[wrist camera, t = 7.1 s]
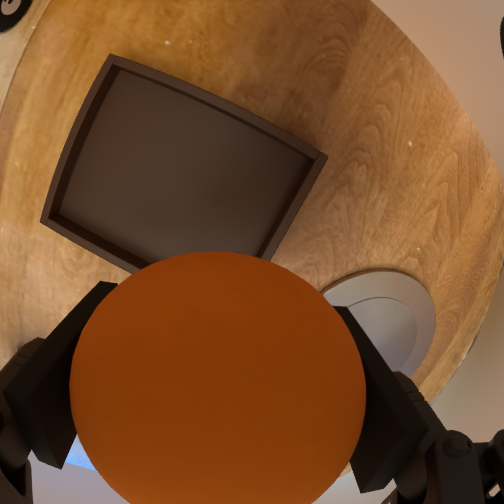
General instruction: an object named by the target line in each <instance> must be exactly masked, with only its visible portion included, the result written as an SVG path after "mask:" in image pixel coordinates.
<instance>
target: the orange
mask: <svg viewBox="0 0 504 504" xmlns="http://www.w3.org/2000/svg"><path fill="white" fill-rule="evenodd" d="M69 390H70V403H71V413H72V417H73V420H74V424H75V427H76V431H77V434H78V437H79V440H80V442H81V444H82V446H83V448H84V450H85V452H86V454H87V456H88V457H89V459H90V461H91V463H92V465H93V466H94V467H95V469H96V470H97V471H98V472H99V474H100V475H101V476H102V477H103V479H104V480H105V481H106V482H107V483H108V485H109V486H110V487H111V488H113V489H114V490H115V491H116V492H117V493H118V494H119V495H120V496H121V497H123V498H124V499H125V500H127V501H128V502H129V503H130V504H311V503H313V502H314V501H316V500H317V499H318V498H319V497H320V496H321V495H322V494H323V493H324V492H325V491H326V490H327V489H328V488H329V487H330V486H331V485H332V484H333V483H334V482H335V481H336V479H337V478H338V477H339V476H340V474H341V473H342V471H343V470H344V468H345V467H346V465H347V464H348V462H349V460H350V458H351V456H352V454H353V452H354V450H355V447H356V445H357V443H358V440H359V437H360V434H361V430H362V427H363V421H364V416H365V409H366V382H365V376H364V370H363V365H362V361H361V357H360V354H359V351H358V349H357V346H356V343H355V341H354V339H353V337H352V335H351V333H350V331H349V329H348V327H347V326H346V324H345V322H344V321H343V319H342V317H341V316H340V315H339V314H338V312H337V311H336V310H335V309H334V308H333V306H332V305H331V304H330V303H329V302H328V301H327V299H326V298H325V297H324V296H323V295H322V294H321V293H320V292H318V291H317V290H316V289H315V288H314V287H313V286H311V285H310V284H309V283H308V282H306V281H305V280H303V279H302V278H300V277H298V276H297V275H295V274H294V273H292V272H290V271H289V270H287V269H285V268H283V267H281V266H279V265H276V264H274V263H272V262H270V261H267V260H263V259H260V258H257V257H254V256H250V255H244V254H238V253H233V252H216V251H207V252H195V253H187V254H183V255H178V256H173V257H170V258H167V259H164V260H162V261H159V262H156V263H154V264H151V265H149V266H147V267H145V268H143V269H142V270H140V271H138V272H136V273H134V274H132V275H131V276H129V277H128V278H127V279H125V280H124V281H123V282H122V283H120V284H119V285H118V286H116V287H115V288H114V289H113V290H112V291H111V292H110V293H109V294H108V295H107V296H106V297H105V298H104V299H103V300H102V302H101V303H100V304H99V305H98V306H97V308H96V309H95V311H94V312H93V314H92V315H91V317H90V318H89V320H88V322H87V323H86V325H85V327H84V328H83V330H82V333H81V335H80V338H79V341H78V343H77V346H76V349H75V352H74V355H73V359H72V366H71V373H70V382H69Z"/></svg>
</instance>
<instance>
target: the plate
mask: <svg viewBox="0 0 504 504" xmlns="http://www.w3.org/2000/svg"><path fill="white" fill-rule="evenodd" d="M320 293H321V294H322V295H323V296H324V297H325V298H326V299H327V301H328V302H329V303H330V304H331V305H332V306H347V308H348V309H349V311H350V312H351V313H352V315H353V316H354V317H355V319H356V320H357V322H358V323H359V324H360V326H361V327H362V329H363V330H364V332H365V333H366V334H367V336H368V337H369V339H370V340H371V341H372V343H373V344H374V346H375V347H376V349H377V350H378V352H379V353H380V354H381V356H382V357H383V359H384V360H385V362H386V363H387V365H388V366H389V368H390V369H391V370H392V372H394V371H401V372H402V373H403V374H405V375H406V376H407V377H408V378H410V377H411V375H412V374H413V373H414V372H415V371H416V370H417V368H418V367H419V366H420V364H421V363H422V361H423V360H424V358H425V356H426V354H427V352H428V350H429V348H430V346H431V343H432V340H433V336H434V332H435V325H436V315H435V308H434V305H433V301H432V299H431V297H430V295H429V293H428V292H427V290H426V289H425V288H424V286H422V285H421V284H420V283H419V282H418V281H417V280H415V279H414V278H412V277H411V276H409V275H407V274H405V273H402V272H400V271H396V270H391V269H371V270H365V271H361V272H357V273H354V274H351V275H349V276H346V277H344V278H342V279H340V280H338V281H336V282H334V283H333V284H331V285H329V286H328V287H326V288H325V289H323V290H322V291H321V292H320Z"/></svg>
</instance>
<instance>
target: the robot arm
mask: <svg viewBox="0 0 504 504" xmlns="http://www.w3.org/2000/svg"><path fill="white" fill-rule="evenodd" d="M116 286H118V284H117V283H110V282H104V281H100V282H99V283H98V284H97V285H96V286H95V287H94V288H93V289H92V290H91V291H90V292H89V293H88V294H87V295H86V296H85V297H84V298H83V299H82V300H81V301H80V302H79V303H78V304H77V305H76V306H75V307H74V308H73V310H72V311H71V312H70V313H69V314H68V315H67V316H66V317H65V318H64V319H63V320H62V321H61V322H60V324H59V325H58V326H57V327H56V328H55V329H54V330H53V331H52V332H51V334H50V335H49V336H48V337H47V338H46V339H42V338H39V337H37V338H36V339H34V340H32V341H30V342H28V343H27V344H25V345H24V346H23V347H22V348H21V350H20V351H19V352H18V353H17V356H16V355H15V356H14V357H13V358H12V360H11V361H10V363H8V364H7V365H6V366H5V367H4V369H3V370H2V371H1V372H0V504H33V495H32V476H31V465H30V461H29V460H28V458H27V457H28V455H29V453H30V451H31V449H32V451H33V452H34V454H35V455H36V457H37V459H38V460H39V461H41V462H43V463H46V464H48V465H51V466H53V467H56V468H58V469H62V467H63V465H64V462H65V460H66V458H67V455H68V453H69V451H70V448H71V446H72V444H73V442H74V439H75V437H76V435H77V431H76V427H75V424H74V420H73V417H72V413H71V403H70V390H69V382H70V373H71V366H72V359H73V355H74V352H75V349H76V346H77V343H78V341H79V338H80V335H81V333H82V330H83V328H84V327H85V325H86V323H87V322H88V320H89V318H90V317H91V315H92V314H93V312H94V311H95V309H96V308H97V306H98V305H99V304H100V303H101V302H102V300H103V299H104V298H105V297H106V296H107V295H108V294H109V293H110V292H111V291H112V290H113V289H114V288H115V287H116ZM333 308H334V309H335V310H336V311H337V312H338V314H339V315H340V316H341V317H342V319H343V321H344V322H345V324H346V326H347V327H348V329H349V331H350V333H351V335H352V337H353V339H354V341H355V343H356V346H357V349H358V351H359V354H360V357H361V361H362V365H363V370H364V376H365V382H366V409H365V416H364V421H363V427H362V430H361V434H360V437H359V440H358V443H357V445H356V447H355V450H354V452H353V454H352V456H351V458H350V460H349V462H350V465H351V467H352V470H353V473H354V476H355V479H356V482H357V484H358V487H359V490H360V493H366V492H371V491H375V490H380V489H384V488H385V487H386V485H387V484H388V483H389V482H390V481H391V480H392V479H394V481H395V483H396V485H397V487H396V488H395V489H394V490H393V491H392V493H391V494H390V495H389V496H388V497H387V498H386V499H385V500H384V501H383V502H382V503H381V504H388V503H389V502H390V504H504V429H503V430H500V431H498V432H497V433H496V435H495V436H494V437H493V439H492V440H491V441H490V442H485V443H484V442H483V443H473V442H472V441H471V440H470V439H469V438H468V437H467V436H466V435H464V434H463V433H461V432H458V431H454V430H449V431H447V430H446V429H445V427H444V426H443V424H442V423H441V421H440V420H439V418H438V417H437V415H436V414H435V412H434V411H433V410H432V408H431V407H430V405H429V404H428V402H427V401H425V400H424V399H425V398H424V397H423V395H422V394H421V392H419V390H418V388H417V387H416V385H415V384H414V383H413V381H412V380H411V379H410V378H408V377H407V376H406V375H405V374H403V373H402V372H401V371H394V372H392V370H391V369H390V368H389V366H388V365H387V363H386V362H385V360H384V359H383V357H382V356H381V354H380V353H379V352H378V350H377V349H376V347H375V346H374V344H373V343H372V341H371V340H370V339H369V337H368V336H367V334H366V333H365V332H364V330H363V329H362V327H361V326H360V324H359V323H358V322H357V320H356V319H355V317H354V316H353V315H352V313H351V312H350V311H349V309H348V308H347V306H333ZM497 484H498V485H499V487H500V491H499V492H498V493H497V494H496V495H495V496H494V497H492V496H490V494H489V492H490V491H491V490H492V489H493V488H494V487H495V486H496V485H497Z"/></svg>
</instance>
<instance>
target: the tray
mask: <svg viewBox="0 0 504 504" xmlns="http://www.w3.org/2000/svg"><path fill="white" fill-rule="evenodd" d="M327 159H328V156H327V155H325V154H324V153H322V152H320V151H319V150H317V149H316V148H314V147H312V146H311V145H309V144H307V143H306V142H304V141H302V140H300V139H299V138H297V137H295V136H294V135H292V134H290V133H288V132H287V131H285V130H283V129H281V128H279V127H278V126H276V125H274V124H272V123H270V122H268V121H266V120H265V119H263V118H261V117H259V116H257V115H255V114H253V113H251V112H249V111H247V110H245V109H243V108H241V107H239V106H237V105H235V104H233V103H231V102H229V101H227V100H225V99H223V98H221V97H219V96H217V95H214V94H212V93H210V92H208V91H206V90H203V89H201V88H199V87H197V86H194V85H192V84H190V83H187V82H185V81H183V80H180V79H178V78H176V77H173V76H171V75H168V74H166V73H163V72H161V71H158V70H155V69H153V68H150V67H148V66H145V65H142V64H139V63H137V62H134V61H131V60H128V59H125V58H122V57H119V56H116V55H113V54H109V56H108V57H107V59H106V61H105V62H104V64H103V66H102V68H101V69H100V71H99V73H98V75H97V77H96V79H95V80H94V82H93V84H92V86H91V88H90V90H89V92H88V94H87V96H86V98H85V100H84V102H83V104H82V106H81V108H80V110H79V113H78V115H77V117H76V119H75V122H74V124H73V126H72V128H71V131H70V133H69V136H68V138H67V140H66V143H65V145H64V148H63V151H62V153H61V156H60V159H59V161H58V164H57V167H56V170H55V173H54V175H53V178H52V181H51V185H50V188H49V191H48V194H47V197H46V201H45V204H44V208H43V211H42V215H41V219H40V223H42V224H43V225H45V226H47V227H49V228H50V229H52V230H54V231H55V232H57V233H59V234H60V235H62V236H64V237H66V238H67V239H69V240H71V241H72V242H74V243H76V244H78V245H79V246H81V247H83V248H85V249H87V250H88V251H90V252H92V253H94V254H96V255H97V256H99V257H101V258H103V259H105V260H107V261H108V262H110V263H112V264H114V265H116V266H118V267H120V268H122V269H123V270H125V271H127V272H129V273H131V274H134V273H136V272H138V271H140V270H142V269H143V268H145V267H147V266H149V265H151V264H154V263H156V262H159V261H162V260H164V259H167V258H170V257H173V256H178V255H183V254H187V253H195V252H207V251H216V252H233V253H238V254H244V255H250V256H254V257H257V258H260V259H263V260H267V261H270V260H271V258H272V257H273V255H274V253H275V251H276V250H277V248H278V246H279V244H280V243H281V241H282V239H283V237H284V236H285V234H286V232H287V230H288V229H289V227H290V225H291V223H292V222H293V220H294V218H295V216H296V215H297V213H298V211H299V209H300V208H301V206H302V204H303V202H304V200H305V199H306V197H307V195H308V193H309V192H310V190H311V188H312V186H313V184H314V183H315V181H316V179H317V177H318V176H319V174H320V172H321V170H322V168H323V167H324V165H325V163H326V161H327Z"/></svg>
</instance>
